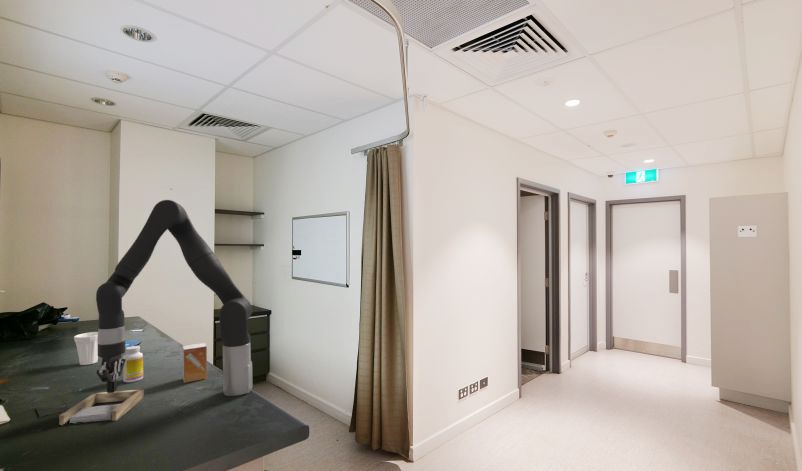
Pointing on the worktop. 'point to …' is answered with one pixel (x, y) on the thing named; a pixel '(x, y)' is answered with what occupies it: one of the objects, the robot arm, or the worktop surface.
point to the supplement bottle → (133, 364)
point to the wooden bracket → (127, 396)
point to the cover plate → (93, 414)
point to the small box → (194, 362)
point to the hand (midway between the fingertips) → (111, 391)
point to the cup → (87, 347)
